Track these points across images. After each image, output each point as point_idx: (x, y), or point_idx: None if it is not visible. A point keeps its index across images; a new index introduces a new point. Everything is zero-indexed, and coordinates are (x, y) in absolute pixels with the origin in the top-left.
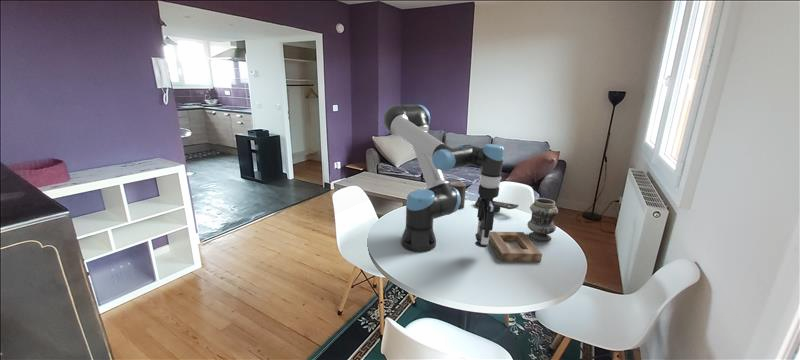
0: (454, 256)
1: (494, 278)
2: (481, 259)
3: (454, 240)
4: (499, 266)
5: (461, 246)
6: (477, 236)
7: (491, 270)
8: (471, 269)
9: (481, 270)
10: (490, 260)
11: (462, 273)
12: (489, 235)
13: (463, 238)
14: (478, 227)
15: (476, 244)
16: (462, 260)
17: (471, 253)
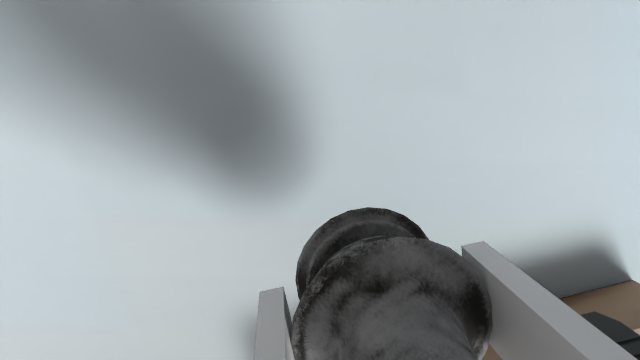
0: (293, 3)
1: (27, 317)
2: (293, 232)
3: (592, 8)
4: (219, 352)
5: (487, 72)
6: (360, 271)
7: (141, 299)
8: (104, 152)
9: (115, 229)
10: (294, 295)
11: (5, 74)
12: (638, 315)
13: (631, 92)
14: (548, 326)
15: (337, 224)
16: (237, 77)
17: (377, 156)
